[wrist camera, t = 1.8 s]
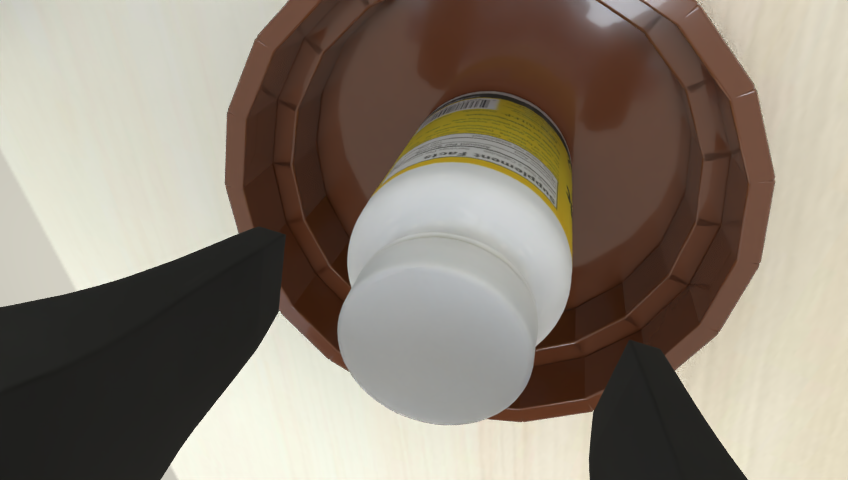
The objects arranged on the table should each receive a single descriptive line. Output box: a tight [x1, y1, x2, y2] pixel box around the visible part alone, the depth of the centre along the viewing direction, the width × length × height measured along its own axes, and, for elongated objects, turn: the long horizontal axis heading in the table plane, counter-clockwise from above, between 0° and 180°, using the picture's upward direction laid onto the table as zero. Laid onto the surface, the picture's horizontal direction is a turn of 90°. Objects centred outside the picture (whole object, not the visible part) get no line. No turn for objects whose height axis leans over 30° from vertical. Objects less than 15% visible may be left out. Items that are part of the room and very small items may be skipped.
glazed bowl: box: [225, 0, 775, 422], centre depth 19 cm, size 15×15×4 cm
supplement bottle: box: [337, 91, 572, 425], centre depth 16 cm, size 5×5×10 cm
